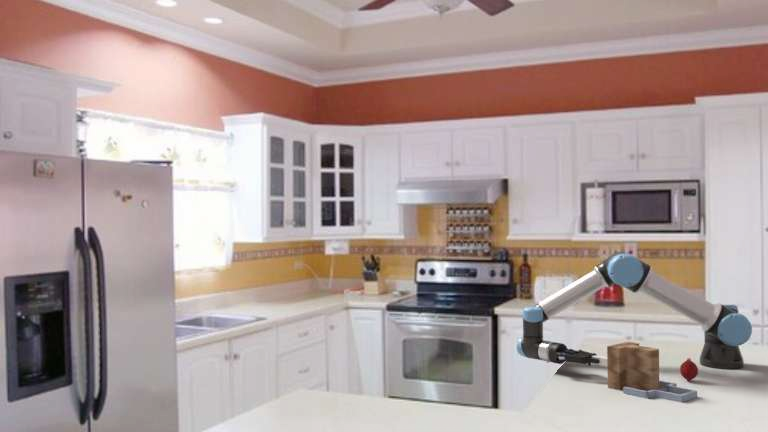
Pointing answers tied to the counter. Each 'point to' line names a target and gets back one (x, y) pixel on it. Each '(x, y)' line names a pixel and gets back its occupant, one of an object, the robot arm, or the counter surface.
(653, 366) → the tee block
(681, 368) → the onion
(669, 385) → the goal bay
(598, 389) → the counter surface
